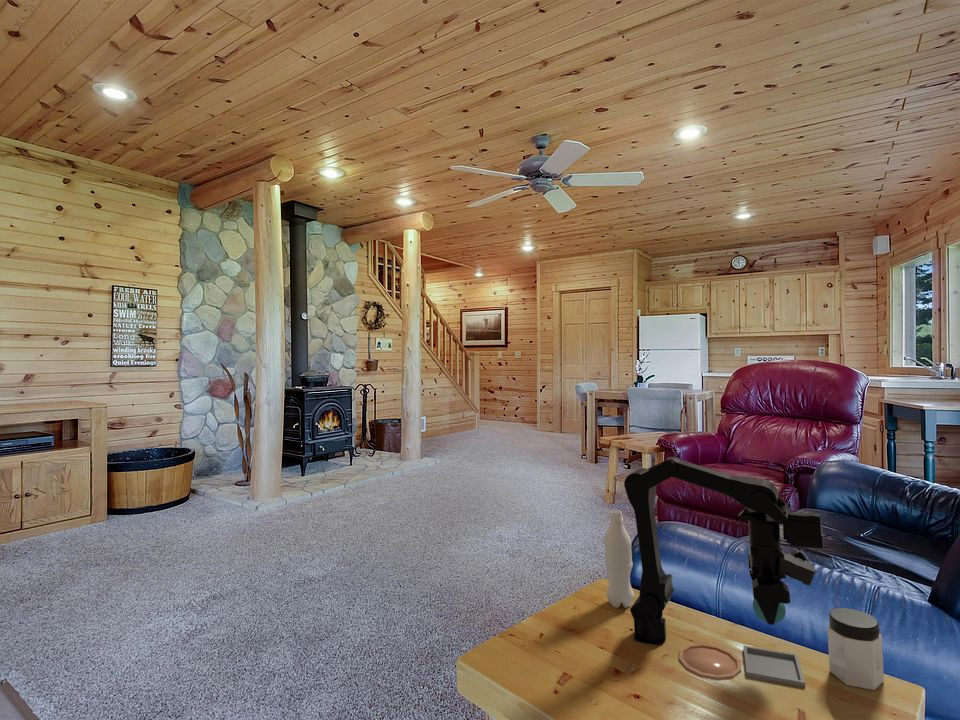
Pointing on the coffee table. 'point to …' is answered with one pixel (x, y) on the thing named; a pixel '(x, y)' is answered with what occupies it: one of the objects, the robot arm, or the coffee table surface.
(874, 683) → the jar
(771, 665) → the tray
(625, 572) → the water bottle
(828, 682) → the coffee table surface
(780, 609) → the ball
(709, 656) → the dish
